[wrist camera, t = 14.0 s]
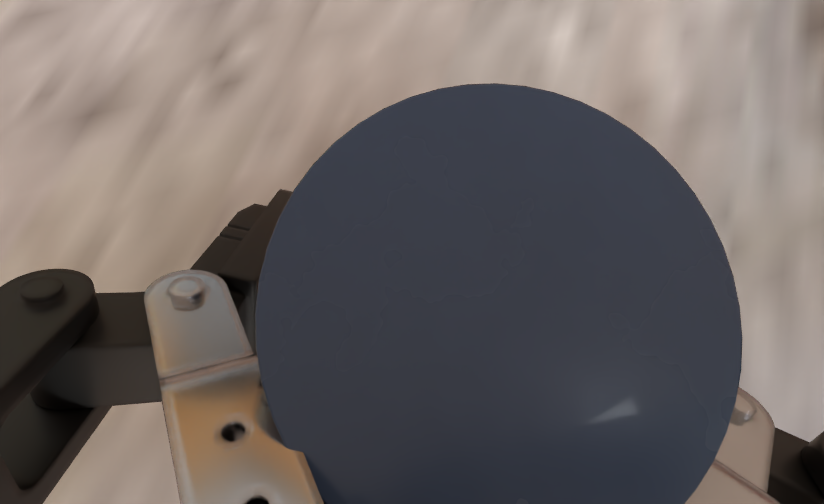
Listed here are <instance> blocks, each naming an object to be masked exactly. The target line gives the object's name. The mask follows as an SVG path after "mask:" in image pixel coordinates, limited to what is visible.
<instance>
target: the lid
mask: <svg viewBox="0 0 824 504" xmlns="http://www.w3.org/2000/svg"><path fill="white" fill-rule="evenodd" d="M255 329H256V352H257V358H258V364H259V371H260V377H261V383H262V386H263V390H264V393H265V396H266V400H267V403H268V406H269V410H270V413H271V416H272V419H273V421H274V423H275V425H276V428H277V430H278V432H279V434H280V436H281V439H282V441H283V443H284V445H285V447H286V448H288V449H290V450H295V451H300V452H303V453H304V456H305V458H306V461H307V463H308V466H309V468H310V471H311V473H312V476H313V478H314V481H315V483H316V486H317V488H318V490H319V493H320V495H321V498H322V500H323V501H324V503H325V504H685V503H686V501H687V500H688V499H689V498H690V497H691V495H692V494H693V493H694V492H695V491H696V489H697V488H698V486H699V484H700V483H701V481H702V480H703V478H704V476H705V475H706V473H707V472H708V470H709V468H710V467H711V465H712V463H713V462H714V460H715V457H716V455H717V453H718V451H719V448H720V446H721V444H722V442H723V440H724V437H725V435H726V433H727V430H728V426H729V423H730V420H731V416H732V413H733V410H734V406H735V403H736V398H737V392H738V386H739V379H740V373H741V358H742V330H741V318H740V307H739V302H738V297H737V292H736V287H735V282H734V278H733V274H732V271H731V268H730V265H729V262H728V259H727V256H726V253H725V250H724V247H723V245H722V243H721V241H720V238H719V236H718V234H717V232H716V230H715V228H714V226H713V224H712V221H711V219H710V218H709V216H708V214H707V213H706V211H705V209H704V208H703V206H702V205H701V203H700V201H699V200H698V198H697V197H696V195H695V193H694V192H693V191H692V189H691V188H690V187H689V186H688V184H687V183H686V182H685V181H684V179H683V178H682V177H681V175H680V174H679V173H678V172H677V170H676V169H675V168H674V167H673V166H672V165H671V164H670V163H669V162H668V161H667V160H666V159H665V158H664V157H663V156H662V155H661V154H660V153H659V152H658V151H657V150H656V149H655V148H654V147H653V146H651V145H650V144H649V143H648V142H646V141H645V140H644V139H643V138H641V137H640V136H639V135H638V134H636V133H635V132H634V131H633V130H631V129H630V128H628V127H627V126H625V125H623V124H622V123H620V122H619V121H617V120H615V119H614V118H612V117H611V116H609V115H608V114H606V113H604V112H601V111H599V110H597V109H595V108H593V107H591V106H589V105H587V104H585V103H583V102H581V101H578V100H575V99H572V98H569V97H566V96H563V95H560V94H557V93H554V92H550V91H545V90H541V89H536V88H531V87H527V86H518V85H507V84H467V85H460V86H454V87H448V88H441V89H437V90H433V91H430V92H426V93H423V94H419V95H416V96H412V97H410V98H407V99H405V100H403V101H400V102H398V103H396V104H393V105H391V106H389V107H386V108H384V109H382V110H381V111H379V112H377V113H376V114H374V115H372V116H371V117H369V118H367V119H366V120H364V121H362V122H361V123H359V124H357V125H356V126H355V127H354V128H352V129H351V130H350V131H349V132H347V133H346V134H345V135H343V136H342V137H341V138H340V139H338V140H337V141H336V142H335V143H333V145H332V146H331V147H330V148H329V149H328V150H327V151H326V152H325V153H324V154H323V155H322V156H321V157H320V158H319V159H318V160H317V161H316V162H315V163H314V164H313V165H312V166H311V168H310V169H309V171H308V172H307V173H306V175H305V176H304V177H303V179H302V180H301V181H300V183H299V184H298V185H297V187H296V188H295V189H294V191H293V193H292V195H291V196H290V198H289V200H288V202H287V204H286V205H285V207H284V209H283V211H282V213H281V214H280V216H279V218H278V221H277V223H276V226H275V228H274V231H273V233H272V236H271V238H270V241H269V243H268V246H267V249H266V253H265V257H264V261H263V265H262V269H261V273H260V277H259V283H258V292H257V301H256V310H255Z"/></svg>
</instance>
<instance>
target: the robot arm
mask: <svg viewBox="0 0 824 504" xmlns="http://www.w3.org/2000/svg"><path fill="white" fill-rule="evenodd" d="M292 193H293V192H291V191H287V190H282V189H280V190H279V191H278V192H277V194H276V195H275V196H274V198H273V199H272V200H271V202H270V203H269V204H268V206H263V205H259V204H253V205H251V206H249V207H247V208H245V209H243V210H241V211H239V212H238V213H237V214H236V215H235V216H234V217H233V219H232V220H231V221H230V222H229V223H228V227H227V226H226V227H225V228H224V229H223V231H222V232H221V233H220V236H218V237H217V238H216V239H215V240H214V241H213V243H212V244H211V245H210V246H209V247H208V248H207V250H206V251H205V252H204V253H203V254H202V256H201V257H200V258H199V259H198V260H197V262H196V263H195V264H194V265H193V266H192V268H191V269H190V270H182V271H177V272H173V273H169V274H167V275H164V276H162V277H160V278H159V279H157V280H155V281H154V282H153V283H152V284H151V285H150V286H149V287H148V288H147V290H146V292H135V293H95V289H94V285H93V282H92V280H91V279H90V278H89V277H88V276H86V275H85V274H83V273H80V272H78V271H74V270H68V269H48V270H41V271H36V272H32V273H28V274H25V275H22V276H20V277H17V278H15V279H13V280H11V281H9V282H7V283H6V284H4V285H3V286H1V287H0V504H43V502H44V501H45V499H46V498H47V497H48V495H49V494H50V492H51V491H52V490H53V488H54V487H55V485H56V484H57V483H58V481H59V480H60V478H61V477H62V476H63V474H64V473H65V471H66V470H67V469H68V467H69V466H70V464H71V463H72V462H73V460H74V459H75V457H76V456H77V455H78V453H79V452H80V450H81V449H82V447H83V446H84V445H85V443H86V442H87V440H88V439H89V438H90V436H91V435H92V433H93V432H94V431H95V429H96V428H97V426H98V425H99V424H100V422H101V421H102V419H103V418H104V417H105V415H106V414H107V412H108V411H109V410H110V408H111V407H112V406H115V405H126V404H138V403H149V402H161V401H162V405H163V410H164V416H165V421H166V427H167V432H168V438H169V443H170V449H171V454H172V460H173V465H174V471H175V476H176V482H177V487H178V493H179V498H180V504H325V503H324V501H323V500H322V498H321V495H320V493H319V490H318V488H317V486H316V483H315V481H314V478H313V476H312V473H311V471H310V468H309V466H308V463H307V461H306V458H305V456H304V453H303V452H300V451H295V450H290V449H288V448H286V447H285V445H284V443H283V441H282V439H281V436H280V434H279V432H278V430H277V428H276V425H275V423H274V421H273V419H272V416H271V413H270V410H269V406H268V403H267V400H266V396H265V393H264V390H263V386H262V383H261V377H260V371H259V364H258V358H257V352H256V329H255V310H256V301H257V292H258V283H259V277H260V273H261V269H262V265H263V261H264V257H265V253H266V249H267V246H268V243H269V241H270V238H271V236H272V233H273V231H274V228H275V226H276V223H277V221H278V218H279V216H280V214H281V213H282V211H283V209H284V207H285V205H286V204H287V202H288V200H289V198H290V196H291V195H292ZM685 504H824V432H822V433H821V434H820V435H819V436H817V437H816V438H815V439H814V440H813V441H811V442H810V443H809V442H807V441H805V440H802V439H800V438H798V437H796V436H793V435H791V434H789V433H787V432H784V431H782V430H780V429H778V428H775V426H774V422H773V420H772V418H771V416H770V415H769V413H768V412H767V411H766V409H765V408H764V407H763V406H762V405H761V404H760V403H759V402H758V401H757V400H756V399H755V398H754V397H753V396H751V395H750V394H749V393H747V392H746V391H744V390H743V389H741V388H739V387H738V392H737V398H736V403H735V406H734V410H733V413H732V416H731V420H730V423H729V426H728V430H727V433H726V435H725V437H724V440H723V442H722V444H721V446H720V448H719V451H718V453H717V455H716V457H715V460H714V462H713V463H712V465H711V467H710V468H709V470H708V472H707V473H706V475H705V476H704V478H703V480H702V481H701V483H700V484H699V486H698V488H697V489H696V491H695V492H694V493H693V494H692V495H691V497H690V498H689V499H688V500H687V501H686V503H685Z"/></svg>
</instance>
